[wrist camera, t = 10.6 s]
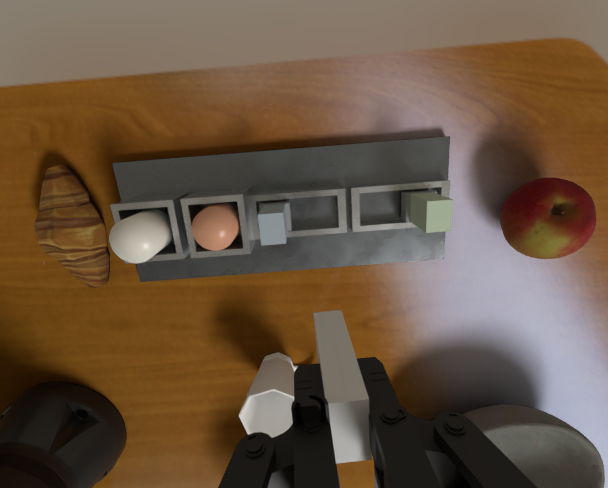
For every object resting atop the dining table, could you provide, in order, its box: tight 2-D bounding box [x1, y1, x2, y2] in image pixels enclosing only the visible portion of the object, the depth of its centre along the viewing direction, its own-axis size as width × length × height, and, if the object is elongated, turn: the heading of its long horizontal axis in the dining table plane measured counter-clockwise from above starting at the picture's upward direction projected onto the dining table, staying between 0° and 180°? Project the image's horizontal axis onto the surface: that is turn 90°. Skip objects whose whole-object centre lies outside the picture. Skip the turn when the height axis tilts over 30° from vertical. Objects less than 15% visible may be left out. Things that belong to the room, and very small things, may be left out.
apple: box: [500, 178, 596, 259], centre depth 33 cm, size 8×8×8 cm
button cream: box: [109, 209, 174, 263], centre depth 31 cm, size 4×4×4 cm
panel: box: [110, 136, 450, 282], centre depth 34 cm, size 34×13×5 cm, turn 94°
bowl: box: [462, 404, 605, 488], centre depth 42 cm, size 21×21×8 cm
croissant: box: [34, 164, 110, 288], centre depth 34 cm, size 14×7×5 cm, turn 8°
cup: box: [239, 352, 298, 438], centre depth 38 cm, size 7×10×8 cm
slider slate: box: [258, 200, 292, 246], centre depth 32 cm, size 3×3×6 cm
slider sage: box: [401, 189, 453, 233], centre depth 32 cm, size 3×3×6 cm
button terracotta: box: [192, 202, 241, 251], centre depth 33 cm, size 4×4×4 cm
